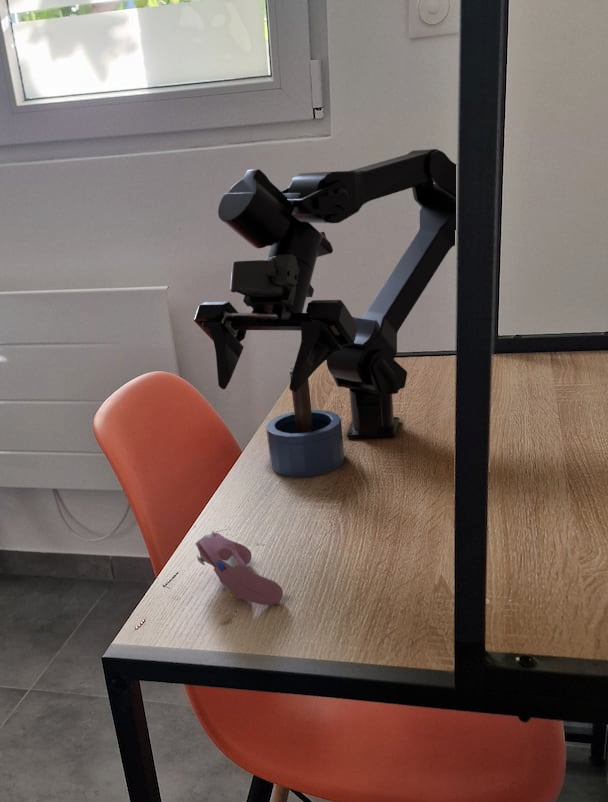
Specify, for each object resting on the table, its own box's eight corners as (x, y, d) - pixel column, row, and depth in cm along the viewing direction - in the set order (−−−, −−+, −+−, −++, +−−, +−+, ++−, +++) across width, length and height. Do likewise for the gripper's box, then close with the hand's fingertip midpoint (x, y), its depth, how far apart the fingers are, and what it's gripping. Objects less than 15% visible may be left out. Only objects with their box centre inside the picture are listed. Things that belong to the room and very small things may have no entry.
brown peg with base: (296, 451, 109) (286, 364, 104) (326, 451, 108) (317, 363, 103) (289, 464, 106) (278, 374, 101) (319, 463, 104) (310, 372, 99)
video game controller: (218, 582, 85) (179, 537, 82) (252, 554, 85) (215, 508, 82) (252, 629, 77) (210, 582, 73) (290, 598, 77) (250, 549, 73)
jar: (281, 448, 113) (276, 410, 110) (349, 447, 110) (346, 408, 107) (263, 477, 104) (258, 437, 102) (336, 477, 102) (332, 435, 99)
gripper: (189, 232, 95) (151, 353, 91) (338, 223, 86) (303, 357, 82) (232, 285, 104) (200, 397, 100) (371, 282, 95) (341, 404, 91)
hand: (256, 389), depth 93 cm, fingers open, 9 cm apart
